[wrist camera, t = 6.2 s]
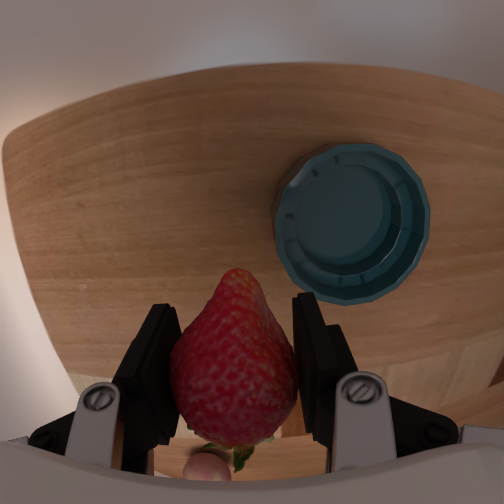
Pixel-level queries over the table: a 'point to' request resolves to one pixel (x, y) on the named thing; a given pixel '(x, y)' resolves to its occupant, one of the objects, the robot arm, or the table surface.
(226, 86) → the table surface
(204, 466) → the apple
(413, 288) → the table surface
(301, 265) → the bowl
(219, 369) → the fruit
